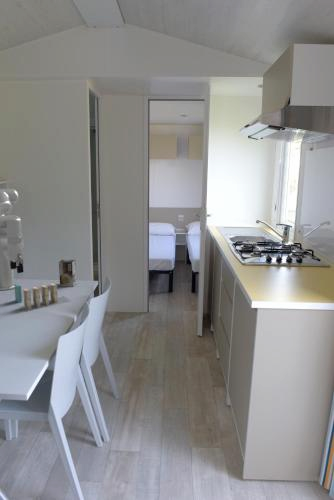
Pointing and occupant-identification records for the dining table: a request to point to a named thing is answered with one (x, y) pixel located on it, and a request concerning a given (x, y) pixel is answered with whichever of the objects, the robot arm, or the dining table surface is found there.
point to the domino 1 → (27, 299)
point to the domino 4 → (53, 293)
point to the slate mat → (60, 300)
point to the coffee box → (67, 272)
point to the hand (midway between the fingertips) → (17, 270)
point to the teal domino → (18, 293)
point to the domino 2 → (36, 297)
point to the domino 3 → (45, 295)
